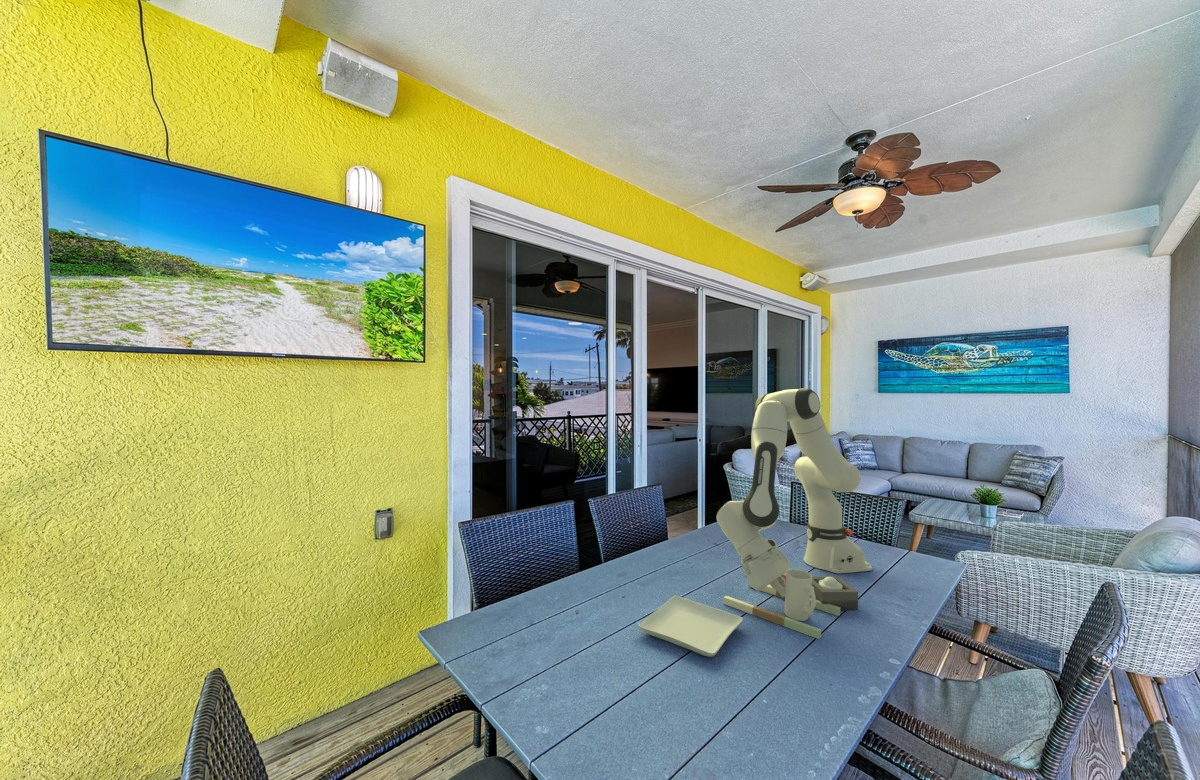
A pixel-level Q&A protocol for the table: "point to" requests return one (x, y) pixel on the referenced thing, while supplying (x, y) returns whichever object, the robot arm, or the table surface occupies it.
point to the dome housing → (836, 595)
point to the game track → (779, 618)
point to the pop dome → (830, 583)
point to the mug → (799, 594)
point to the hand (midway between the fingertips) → (786, 594)
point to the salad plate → (691, 625)
